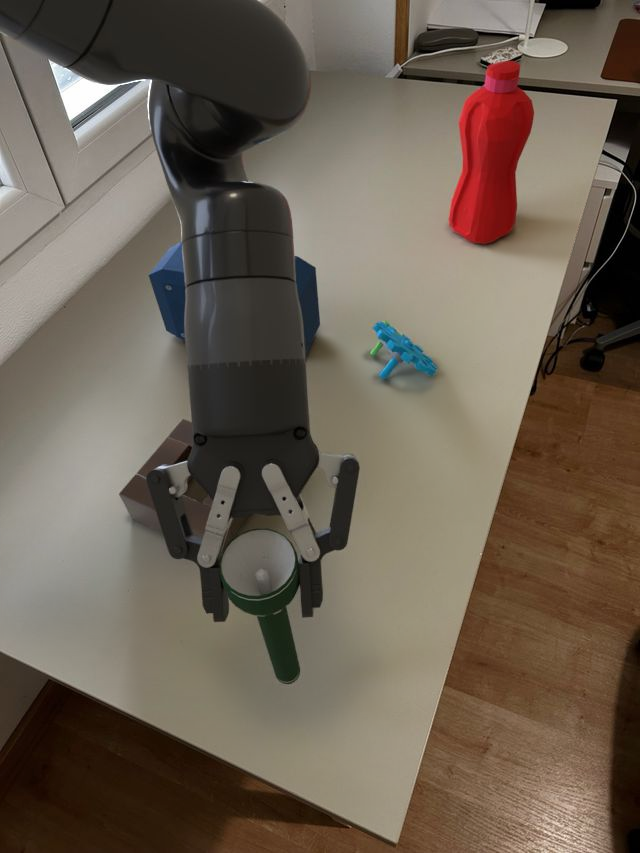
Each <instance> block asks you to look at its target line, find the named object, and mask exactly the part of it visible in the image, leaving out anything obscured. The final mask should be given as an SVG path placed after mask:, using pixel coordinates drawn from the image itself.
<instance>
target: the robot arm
mask: <svg viewBox="0 0 640 853" xmlns="http://www.w3.org/2000/svg"><path fill="white" fill-rule="evenodd" d="M0 34H2V35H4V36H6V37H8V38H10V39H11V40H12V41H15V42H16V43H18V44H20V45H22V46H23V47H25V48H27V49H29V50H30V51H32V52H34V53H36V54H38V55H39V56H41V57H43V58H45V59H47V60H49V61H51V62H52V63H54V64H56V65H57V66H59V67H62V68H63V69H65V70H67V71H69V72H71V73H73V74H74V75H76V76H77V77H80V78H83V79H85V80H87V81H89V82H92V83H94V84H97V85H99V86H105V87H112V86H114V87H115V86H120V85H121V86H122V85H126V84H130V83H134V82H140V81H150V83H149V88H148V95H147V96H148V97H147V113H148V114H147V115H148V122H149V128H150V133H151V137H152V140H153V144H154V147H155V150H156V154H157V157H158V161H159V163H160V166H161V168H162V169H161V170H162V173H163V176H164V179H165V182H166V186H167V189H168V192H169V194H170V198H171V200H172V203H173V206H174V208H175V210H176V213H177V216H178V219H179V222H180V235H181V236H180V237H181V239H180V240H181V242H182V253H183V266H184V278H185V287H186V289H185V296H186V299H185V317H184V329H185V341H184V344H185V354H186V365H187V366H186V367H187V378H188V392H189V404H190V416H191V418H190V419H191V422H192V430H193V447H192V450H191V453H190V455H189V457H188V460H187V461H185V462H181V463H178V464H174V465H171V466H169V465H166V464H164V465H161V466H159V467H157V468H155V469H154V470H152V471H150V472H149V473H148V474H147V477H146V481H147V485H148V488H149V491H150V494H151V497H152V500H153V504H154V507H155V510H156V513H157V516H158V519H159V523H160V526H161V529H162V532H163V534H162V535H163V538H164V541H165V544H166V547H167V551H168V554H169V556H170V557H171V558H173V559H174V560H182V559H184V560H188V561H190V562H193V563H194V564H196V565H197V567H198V569H199V576H200V588H201V590H200V591H201V602H202V607H203V610H204V612H205V613H206V614H207V615H209V614H212V620H213V623H225V622H226V621H227V618H228V615H229V614H230V601H229V600H230V599H229V597H228V595H227V593H226V591H225V588H224V586H223V583H222V580H221V575H220V561H221V556H222V555H221V552H222V549H223V546H224V542H225V539H226V536H227V533H228V529H229V527H230V524H231V521H232V518H240V517H246V516H248V517H250V516H252V515H255V514H256V515H263V516H269V517H270V516H273V517H274V516H281V517H282V520H283V523H284V524H285V526H286V528H287V530H288V531H289V533H290V534H291V536H292V538H293V540H294V542H295V544H296V547H297V548H298V550H299V553H300V554H299V557H298V561H299V563H298V564H299V579H300V585H299V593H300V607H301V617H302V618H313V617H314V611H315V609H320V608H321V607H322V603H323V601H324V589H323V574H322V573H323V572H322V559H323V557H324V556H326V555H327V554H329V553H331V552H333V551H342V550H344V549H345V548H346V547H347V546H348V543H349V542H348V540H349V536H350V531H351V530H350V529H351V523H352V519H353V511H354V507H355V506H354V504H355V499H356V494H357V487H358V482H359V475H360V470H361V469H360V468H361V466H360V462H359V459H358V457H357V456H356V455H354V454H353V453H345V454H343V455H341V454H335V453H329V452H323V451H320V450H319V448H318V446H317V445H316V444H315V441H314V440H313V437H312V434H311V424H310V423H311V422H310V408H309V394H308V392H309V391H308V377H307V362H306V355H305V351H306V340H305V337H304V330H303V318H302V312H301V307H300V302H299V297H298V292H297V284H296V283H295V282H296V272H295V257H294V256H295V243H294V242H295V241H294V227H293V226H294V225H293V217H292V212H291V207H290V204H289V202H288V199H287V198H286V196H285V195H284V194H283V193H282V192H281V191H280V190H278V189H277V188H276V187H273V186H272V185H269V184H265V183H261V182H254V181H249V180H248V177H247V174H246V171H245V167H244V161H243V160H244V158H243V157H244V156H243V154H244V152H245V151H247V150H250V149H253V148H255V147H257V146H259V145H262V144H264V143H266V142H270V141H271V140H273V139H275V138H278V137H279V136H282V135H284V134H285V133H287V132H288V131H290V130H291V129H292V128H294V126H295V125H296V124H297V123H298V122H299V121H300V120H301V119H302V117H303V115H304V114H305V112H306V110H307V108H308V105H309V102H310V99H311V91H312V78H311V71H310V66H309V62H308V59H307V56H306V55H305V51H304V49H303V48H302V45H301V44H300V41H299V40H298V38H297V37H296V35H295V33H294V32H293V31H292V30H291V29H290V27H289V26H288V25H287V23H285V21H284V20H283V19H282V18H281V17H280V16H279V15H278V14H276V12H274V11H273V10H272V9H271V7H269V6H267V5H265V4H264V3H263V2H262V1H259V0H0ZM317 469H320V470H322V471H323V473H324V475H325V482H326V484H327V486H328V487H330V488H331V489H335V491H334V495H333V496H334V498H333V503H332V509H331V514H330V520H329V526H328V527H327V528H323V529H322V530H319V531H317V530H316V528H315V525H314V523H313V521H312V519H311V517H310V514H309V511H308V508H307V506H306V504H305V501H304V500H303V498H302V495H301V493H302V492H303V490H304V488H306V485H307V484H308V482H309V481H310V480H311V477H312V476H313V475H314V473H315V472H316V470H317ZM190 475H191V476H192V477H193V478H192V479H193V480H194V481H195V482H196V483H197V485H198V486H200V488H201V489H202V490H203V491H204V493H205V494H206V495H208V496H209V497H210V498H211V500H212V501H213V504H212V507H211V510H210V513H209V517H208V520H207V523H206V527H205V533H204V536H203V538H200V537H196V536H194V534H193V531H192V527H191V524H190V521H189V518H188V515H187V511H186V508H185V505H184V502H183V499H182V495H185V493H186V492H187V491H188V486H189V485H188V484H187V479H188V477H189V476H190Z"/></svg>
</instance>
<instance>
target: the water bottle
mask: <svg viewBox="0 0 640 853" xmlns="http://www.w3.org/2000/svg"><path fill="white" fill-rule="evenodd" d="M520 71H521V65H520V64H519V63H518V62H516V61H514V60H503V61H497V62H495V63H494V62H493V63H492V64H489V65H488V66H487V67H486V71H485V72H486V73H485V78H484V84H483V85H481V86H479V87H478V89H476V90H474V91H473V92H472V93H471V94H470V95H468V97H467V98H466V99H465V101H464V104H463V106H462V110H461V113H460V116H459V120H458V130H459V138H460V146H461V154H462V166H461V167H462V169H461V172H460V175H459V178H458V181H457V184H456V187H455V189H454V192H453V195H452V198H451V200H450V207H449V213H448V214H449V215H448V223H449V227H450V228H451V229H452V231H453V232H454V233H456V234H458V235H460V236H461V237H463V238H464V239H465V240H466V241H468V242H471V243H473V244H483V245H485V244H489V243H492V242H495V241H496V240H498V239H499V238H501V237H504V236H507V235H508V234H509V233H510V232H511V231H512V230H513V228H514V227H515V224H516V219H517V211H518V195H517V194H518V192H517V177H516V172H517V168H518V163H519V161H520V158H521V156H522V154H523V152H524V150H525V147H526V144H527V142H528V140H529V138H530V136H531V133H532V128H533V123H534V117H535V110H534V105H533V100H532V99H531V98H530V97H529V95H528V94H527V93H526V92H525V91H524V90H523V89H521V88H520V87H519V86H518V84H519V79H521V77H520Z"/></svg>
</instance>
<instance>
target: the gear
mask: <svg viewBox="0 0 640 853" xmlns="http://www.w3.org/2000/svg"><path fill="white" fill-rule="evenodd" d="M372 330H374V331H375V332H376V334H375V335H376V337H377V338H378V340H379V341H378V342H377V344H376V345H375V346H374V347H373V349H372V350H371V351H370V352H369V354H370V355H371V356H372V357H375V356H376V355H377V354H378V353H379V351H381V349H382V348H383V346H384V348H385V349H386V350H387V351H388V353H389V354H390V356H391V357H392V358H391V359H390V360H389V362H388V363H387V364H386V365H385V366H384V368H383V369H382V370H381V372H380V373H379V374H378V376H379V377H380V379H381V380H384V381H386V380H387V378H388V377H389V376H390V374H391V373H392V372H393V371H394V369H395V368H396V367H397V366H398V364H402V363H403V362H404V363H406V364H407V365H409V364H410V363H413V364H414V368H415V369H416V370H417V371H419V372H420V373H422V374H424V373H425V374H426V375H427V376H430V377H433V376H434V375H435V374H436V373H437V370H439V367H438V366H437V365H436V364H434V360H433V359H432V357H430V356H429V355H427V354H425V353H424V350H423V349H422V348H421V347H420V346H419V345H417V344H414V343H413V341H411V339H410V338H409V337H408V336H406V335H405V334H404V333H402V334H401V333H400V332H398V330H397V329H396V328H395V327H393V326H392V325H391V324H390V322H388V321H387V320H383V321H381V320H378V322H376V323H375V324H374V325H373V327H372Z"/></svg>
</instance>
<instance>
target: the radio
mask: <svg viewBox="0 0 640 853" xmlns="http://www.w3.org/2000/svg"><path fill="white" fill-rule="evenodd" d="M294 257H295V272H296V282H295V283H296V284H297V292H298V297H299V302H300V307H301V312H302V318H303V330H304V337H305V340H306V351H305V356H306V355H307V353H308V351H309V349H310V347H311V345H312V343H313V341H314V339H315V337H316V334H317V332H318V330H319V328H320V327H321V316H320V305H319V293H318V280H317V268H316V267H315V266H314V265H312V264H311V263H309V262H307V261H306V260H305V259H303V258H301V257H299V256H297V255H294ZM148 278H149V281H150V285H151V287H152V291H153V294H154V297H155V300H156V304H157V306H158V309H159V311H160V315H161V319H162V322H163V325H164V328H165V330H166V332H168V333H170V335H172V336H174V337H177V338H178V339H180V340H182V341H184V342H185V329H184V317H185V299H186V296H185V289H186V287H185V278H184V266H183V253H182V241H180V242H178V243H176V244H174V245H172V246H170V247H169V248H168V249H167V251H166V252H165V253H164V255H163V256H162V258H160V260H159V261H158V263H157V264H156V265H155V266H154V267H153V269H152V270H151V271H150V272H149V274H148Z"/></svg>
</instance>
